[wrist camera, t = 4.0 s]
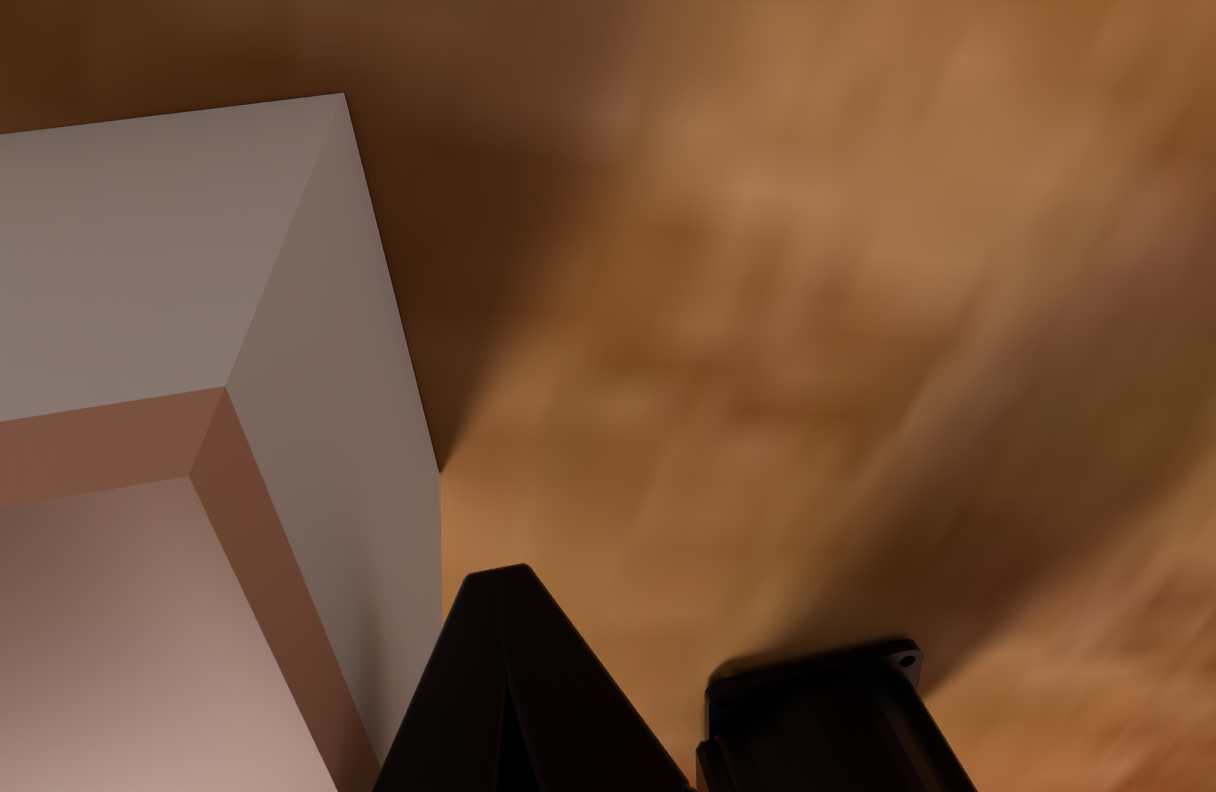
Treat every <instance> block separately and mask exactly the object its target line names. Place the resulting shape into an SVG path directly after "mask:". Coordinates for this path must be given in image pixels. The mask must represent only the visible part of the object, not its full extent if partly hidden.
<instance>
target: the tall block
mask: <svg viewBox="0 0 1216 792" xmlns="http://www.w3.org/2000/svg"><path fill="white" fill-rule="evenodd" d="M441 630H442V567H441V495H440V475H439V471H438V467H437V463H436V459H435V455H434V451H433V447H432V443H431V439H430V435H429V431H428V427H427V423H426V419H425V415H424V411H423V407H422V403H421V399H420V395H419V391H418V387H417V383H416V379H415V375H414V371H413V367H412V363H411V359H410V355H409V351H408V347H407V343H406V339H405V335H404V331H403V327H402V323H401V319H400V315H399V311H398V307H397V303H396V299H395V295H394V291H393V287H392V283H391V279H390V275H389V271H388V267H387V263H386V259H385V255H384V251H383V247H382V243H381V239H380V235H379V231H378V227H377V223H376V219H375V215H374V211H373V207H372V203H371V199H370V195H369V191H368V187H367V183H366V179H365V175H364V171H363V167H362V163H361V159H360V155H359V151H358V147H357V143H356V139H355V135H354V131H353V127H352V123H351V119H350V115H349V111H348V107H347V103H346V99H345V95H344V93H338V94H329V95H321V96H313V97H305V98H297V99H288V100H280V101H272V102H264V103H256V104H247V105H239V106H231V107H223V108H214V109H206V110H198V111H190V112H182V113H173V114H165V115H157V116H149V117H141V118H132V119H124V120H116V121H108V122H100V123H91V124H83V125H75V126H67V127H58V128H50V129H42V130H34V131H26V132H17V133H9V134H1V135H0V792H371V791H372V789H373V787H374V784H375V782H376V780H377V777H378V775H379V773H380V771H381V768H382V766H383V764H384V761H385V759H386V757H387V754H388V752H389V750H390V748H391V745H392V743H393V741H394V738H395V736H396V734H397V731H398V729H399V727H400V725H401V722H402V720H403V718H404V715H405V713H406V711H407V708H408V706H409V704H410V702H411V699H412V697H413V695H414V692H415V690H416V688H417V685H418V683H419V681H420V679H421V676H422V674H423V672H424V669H425V667H426V665H427V663H428V660H429V658H430V656H431V653H432V651H433V649H434V646H435V644H436V642H437V640H438V637H439V635H440V633H441Z"/></svg>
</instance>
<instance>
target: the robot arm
mask: <svg viewBox="0 0 1216 792" xmlns="http://www.w3.org/2000/svg"><path fill="white" fill-rule="evenodd" d="M922 661H923V653H922V652H921V650H920V648H919V647H918V645H917V644H916V643H915V641H914V640H911V639H902V640H897V641H893V642H888V643H884V644H879V645H875V646H870V647H866V648H861V649H857V650H853V651H848V652H844V653H839V654H835V655H830V656H826V657H821V658H817V659H812V660H808V661H803V662H799V663H794V664H790V665H785V666H781V667H776V668H772V669H767V670H763V671H758V672H754V673H749V674H745V675H741V676H736V677H732V678H727V679H723V680H719V681H716V682H714V683H713V684H711V685H710V686H709V687H708V688H707V689H706V691H705V695H704V696H705V741H701V742H700V743H699V745H698V747H697V749H696V782H697V791H696V789H695V788H693V787H690V785H689V781H688V779H687V778H686V777H685V775H684V774H683V772H682V771H681V770H680V768H679V767H678V766H677V764H676V763H675V762H674V760H673V759H672V758H671V756H670V755H669V754H668V752H667V751H666V749H665V748H664V747H663V745H662V744H661V743H660V741H659V740H658V739H657V737H656V736H655V735H654V733H653V732H652V731H651V729H650V728H649V727H648V725H647V724H646V722H645V721H644V720H643V718H642V717H641V716H640V714H639V713H638V712H637V710H636V709H635V708H634V706H633V705H632V704H631V702H630V701H629V699H628V698H627V697H626V695H625V694H624V693H623V691H622V690H621V689H620V687H619V686H618V685H617V683H616V682H615V681H614V679H613V678H612V677H611V675H610V674H609V672H608V671H607V670H606V668H605V667H604V666H603V664H602V663H601V662H600V660H599V659H598V658H597V656H596V655H595V654H594V652H593V651H592V649H591V648H590V647H589V645H588V644H587V643H586V641H585V640H584V639H583V637H582V636H581V635H580V633H579V632H578V631H577V629H576V628H575V627H574V625H573V624H572V622H571V621H570V620H569V618H568V617H567V616H566V614H565V613H564V612H563V610H562V609H561V608H560V606H559V605H558V604H557V602H556V601H555V599H554V598H553V597H552V595H551V594H550V593H549V591H548V590H547V589H546V587H545V586H544V585H543V583H542V582H541V581H540V579H539V578H538V576H537V575H536V574H535V572H534V571H533V570H532V568H531V567H530V566H529V565H527V564H525V563H521V564H516V565H511V566H506V567H500V568H495V569H490V570H485V571H480V572H474V573H470V574H468V575H467V576H466V577H465V578H464V580H463V582H462V584H461V587H460V589H459V591H458V594H457V596H456V598H455V600H454V603H453V605H452V607H451V610H450V612H449V614H448V617H447V619H446V621H445V623H444V626H443V628H442V630H441V633H440V635H439V637H438V640H437V642H436V644H435V646H434V649H433V651H432V653H431V656H430V658H429V660H428V663H427V665H426V667H425V669H424V672H423V674H422V676H421V679H420V681H419V683H418V685H417V688H416V690H415V692H414V695H413V697H412V699H411V702H410V704H409V706H408V708H407V711H406V713H405V715H404V718H403V720H402V722H401V725H400V727H399V729H398V731H397V734H396V736H395V738H394V741H393V743H392V745H391V748H390V750H389V752H388V754H387V757H386V759H385V761H384V764H383V766H382V768H381V771H380V773H379V775H378V777H377V780H376V782H375V784H374V787H373V789H372V791H371V792H978V791H977V790H976V788H975V786H974V785H973V783H972V781H971V780H970V778H969V777H968V775H967V773H966V772H965V770H964V768H963V767H962V765H961V763H960V762H959V760H958V759H957V757H956V755H955V754H954V752H953V750H952V749H951V747H950V745H949V744H948V742H947V741H946V739H945V737H944V736H943V734H942V732H941V731H940V729H939V728H938V726H937V724H936V723H935V721H934V719H933V718H932V716H931V714H930V713H929V711H928V710H927V708H926V706H925V705H924V703H923V701H922V700H921V698H920V697H919V695H918V693H917V692H916V690H917V685H918V680H919V675H920V671H921V666H922Z"/></svg>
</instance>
